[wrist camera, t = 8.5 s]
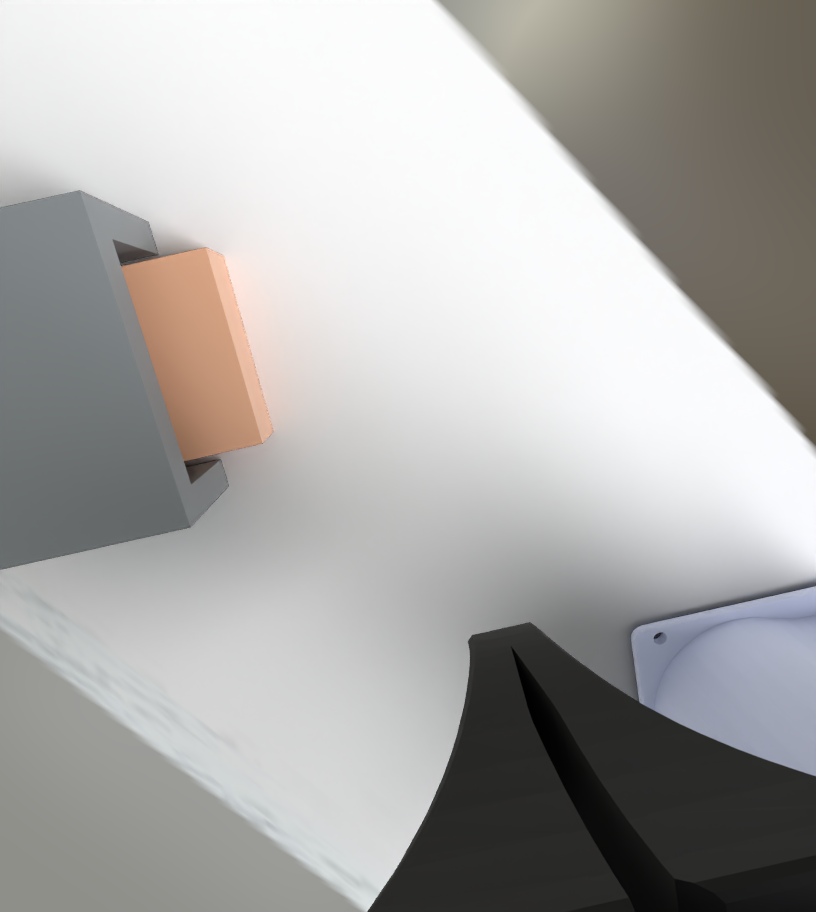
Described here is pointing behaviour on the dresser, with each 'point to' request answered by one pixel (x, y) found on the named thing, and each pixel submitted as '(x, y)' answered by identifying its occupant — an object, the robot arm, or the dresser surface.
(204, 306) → the slab
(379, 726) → the dresser surface
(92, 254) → the block
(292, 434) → the dresser surface
